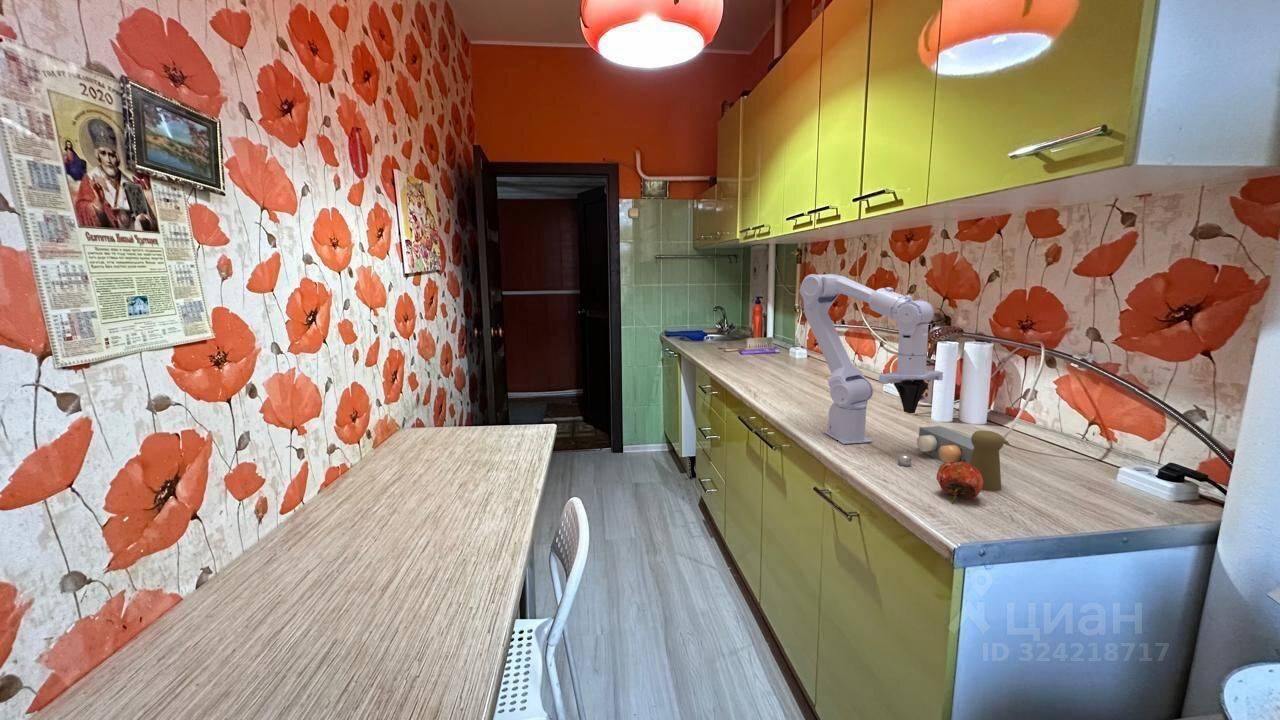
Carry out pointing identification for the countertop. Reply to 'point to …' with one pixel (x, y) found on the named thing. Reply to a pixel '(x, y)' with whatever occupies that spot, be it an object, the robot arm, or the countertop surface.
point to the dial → (904, 460)
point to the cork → (987, 458)
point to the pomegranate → (960, 479)
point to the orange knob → (950, 453)
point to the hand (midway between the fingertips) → (909, 412)
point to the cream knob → (927, 443)
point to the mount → (948, 441)
